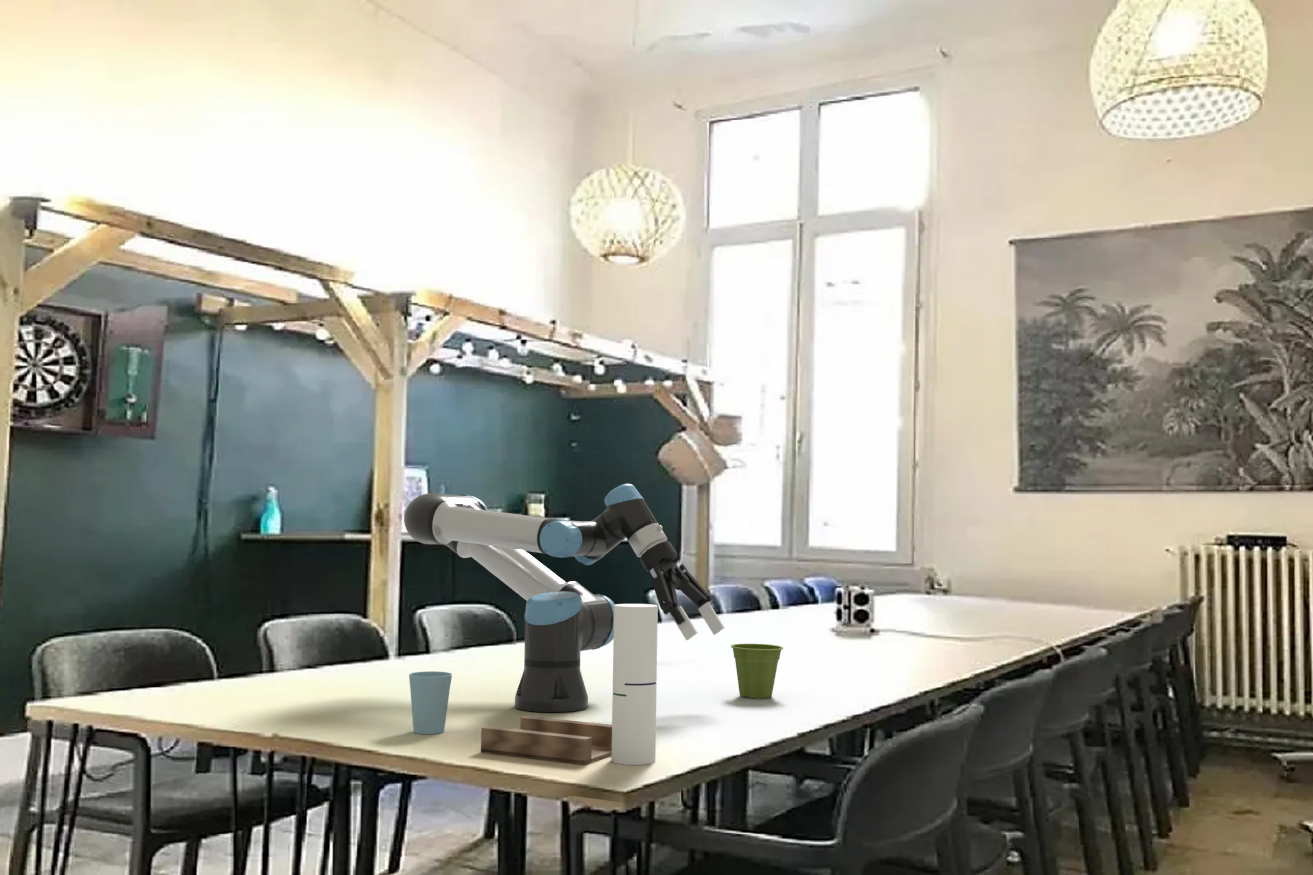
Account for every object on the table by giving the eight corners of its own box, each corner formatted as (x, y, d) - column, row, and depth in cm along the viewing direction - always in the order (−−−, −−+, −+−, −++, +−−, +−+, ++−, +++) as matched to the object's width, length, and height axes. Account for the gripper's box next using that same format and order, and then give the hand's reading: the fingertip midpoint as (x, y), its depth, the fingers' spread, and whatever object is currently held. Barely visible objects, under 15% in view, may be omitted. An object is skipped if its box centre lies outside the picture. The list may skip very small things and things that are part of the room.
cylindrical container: (650, 766, 188) (652, 607, 189) (606, 763, 189) (609, 606, 191) (659, 757, 195) (661, 604, 196) (617, 755, 196) (619, 603, 198)
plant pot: (749, 702, 257) (750, 649, 257) (719, 694, 267) (720, 644, 268) (793, 698, 262) (794, 647, 263) (762, 691, 273) (762, 642, 274)
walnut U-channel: (480, 752, 197) (481, 727, 197) (526, 739, 209) (526, 716, 209) (585, 764, 188) (585, 739, 188) (626, 750, 200) (626, 726, 201)
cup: (448, 735, 211) (449, 676, 212) (404, 735, 211) (406, 676, 212) (452, 728, 219) (454, 671, 220) (410, 728, 218) (412, 671, 219)
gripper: (639, 539, 240) (693, 628, 233) (691, 538, 262) (742, 619, 255) (612, 560, 242) (666, 649, 236) (666, 557, 264) (716, 638, 258)
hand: (706, 634), depth 245 cm, fingers open, 13 cm apart
